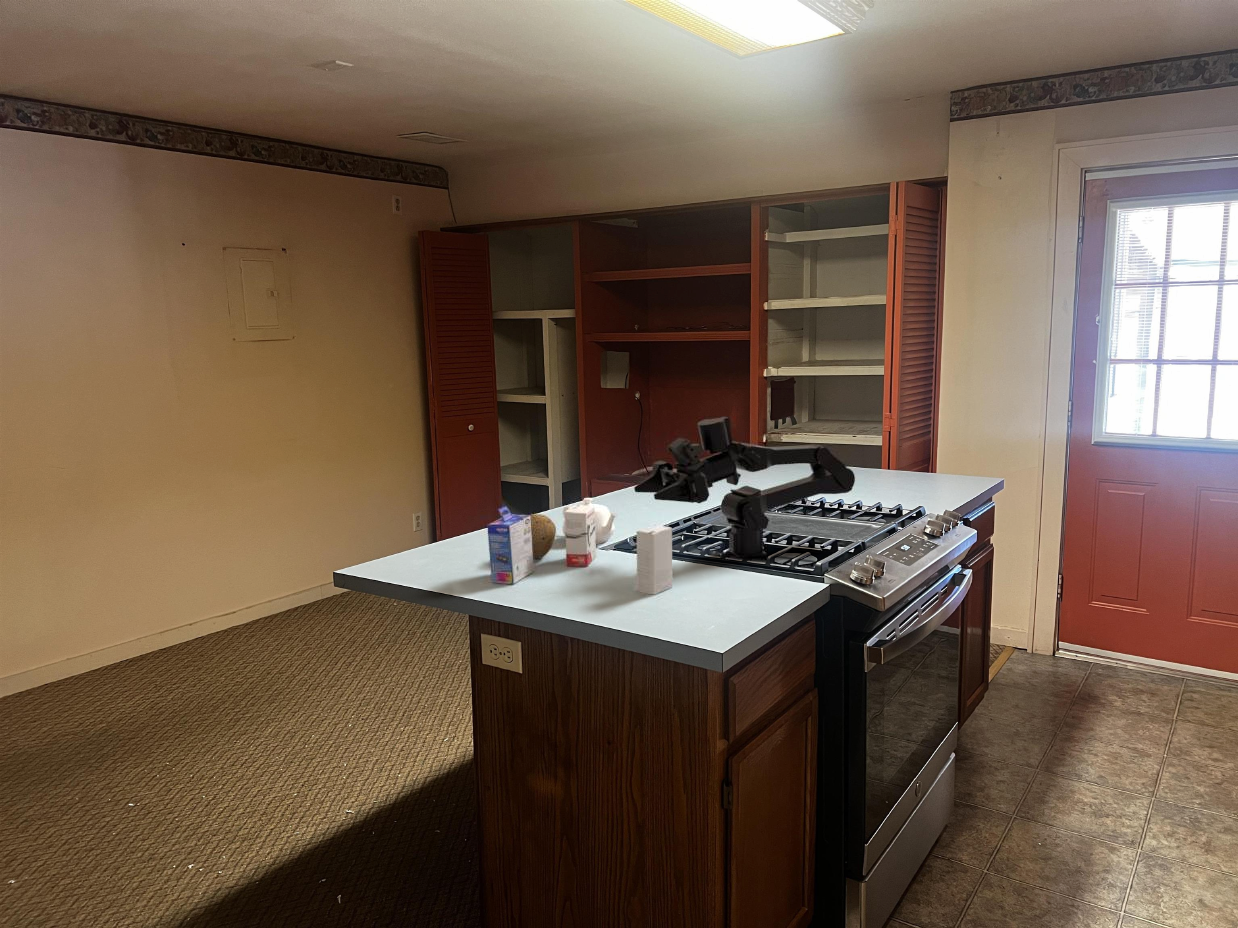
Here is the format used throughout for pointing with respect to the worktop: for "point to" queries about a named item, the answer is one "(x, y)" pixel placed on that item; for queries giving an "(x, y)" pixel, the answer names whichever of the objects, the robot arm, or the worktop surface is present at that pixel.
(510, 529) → the ink cartridge box
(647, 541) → the skincare box
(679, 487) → the robot arm
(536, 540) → the natural sponge
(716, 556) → the worktop surface
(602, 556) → the worktop surface
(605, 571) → the worktop surface
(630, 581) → the worktop surface
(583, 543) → the ink box
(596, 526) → the teapot
